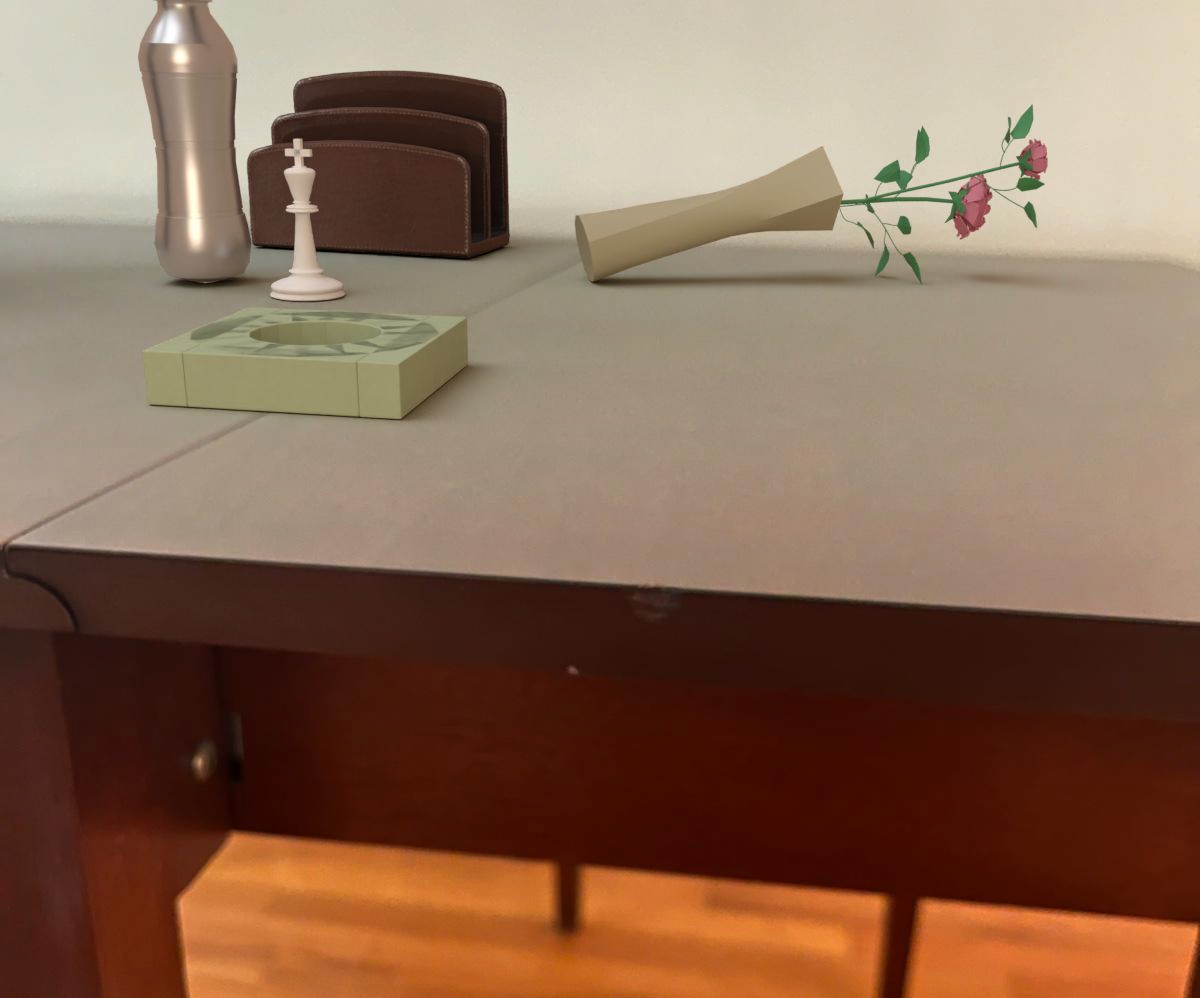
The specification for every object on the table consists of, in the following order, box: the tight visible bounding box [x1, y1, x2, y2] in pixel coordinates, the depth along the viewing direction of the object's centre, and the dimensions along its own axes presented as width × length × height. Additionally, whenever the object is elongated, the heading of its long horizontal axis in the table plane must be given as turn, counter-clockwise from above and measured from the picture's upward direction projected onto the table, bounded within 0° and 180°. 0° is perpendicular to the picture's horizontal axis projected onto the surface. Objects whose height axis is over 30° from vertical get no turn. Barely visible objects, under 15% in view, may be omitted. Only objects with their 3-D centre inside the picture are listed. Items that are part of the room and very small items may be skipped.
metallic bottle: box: [137, 0, 252, 284], centre depth 90 cm, size 6×7×20 cm
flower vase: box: [574, 103, 1049, 285], centre depth 99 cm, size 12×12×35 cm
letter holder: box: [246, 69, 511, 259], centre depth 111 cm, size 10×20×14 cm, turn 74°
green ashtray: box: [141, 306, 469, 420], centre depth 65 cm, size 12×12×2 cm
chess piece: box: [270, 139, 346, 302], centre depth 87 cm, size 5×5×10 cm
